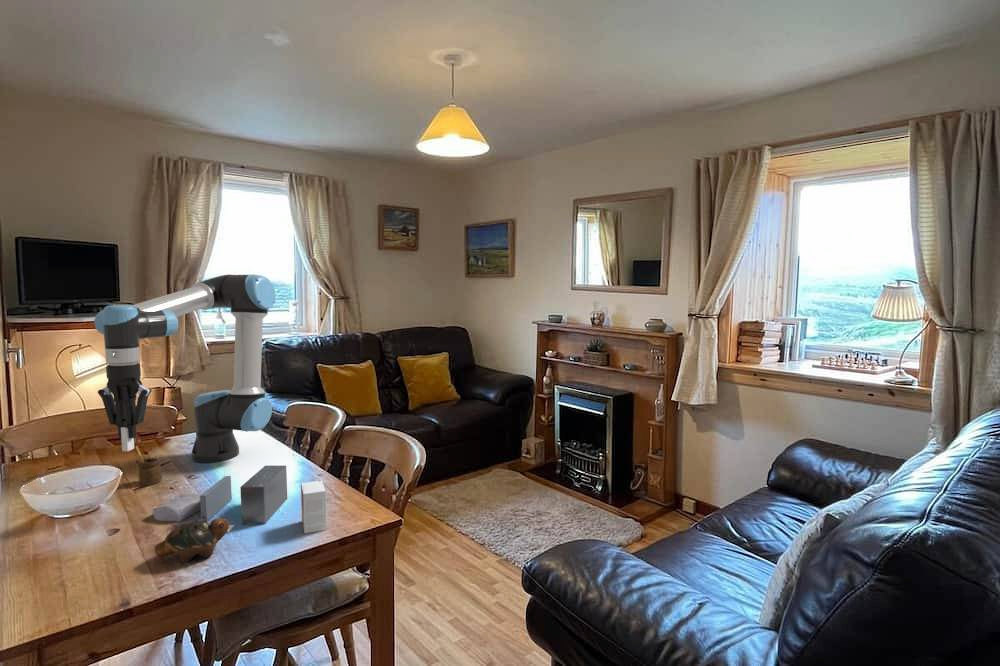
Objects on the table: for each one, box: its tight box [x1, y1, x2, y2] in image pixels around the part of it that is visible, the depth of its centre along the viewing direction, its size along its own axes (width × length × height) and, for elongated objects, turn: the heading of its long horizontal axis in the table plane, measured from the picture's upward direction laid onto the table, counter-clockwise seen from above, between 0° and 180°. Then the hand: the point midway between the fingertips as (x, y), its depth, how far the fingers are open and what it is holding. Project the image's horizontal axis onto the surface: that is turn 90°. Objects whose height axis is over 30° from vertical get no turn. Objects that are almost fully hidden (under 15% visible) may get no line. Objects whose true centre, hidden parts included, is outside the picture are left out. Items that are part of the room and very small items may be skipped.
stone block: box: [152, 492, 202, 523], centre depth 150 cm, size 12×5×10 cm
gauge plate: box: [198, 475, 233, 522], centre depth 148 cm, size 19×2×7 cm, turn 1°
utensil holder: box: [135, 445, 163, 486], centre depth 170 cm, size 6×6×12 cm
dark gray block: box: [240, 465, 288, 525], centre depth 150 cm, size 16×6×10 cm, turn 1°
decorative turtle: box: [154, 517, 230, 563], centre depth 126 cm, size 10×15×8 cm, turn 123°
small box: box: [300, 480, 328, 535], centre depth 142 cm, size 8×6×10 cm
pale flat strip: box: [226, 524, 235, 533], centre depth 140 cm, size 3×10×1 cm, turn 91°
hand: (128, 449), depth 148 cm, fingers closed
